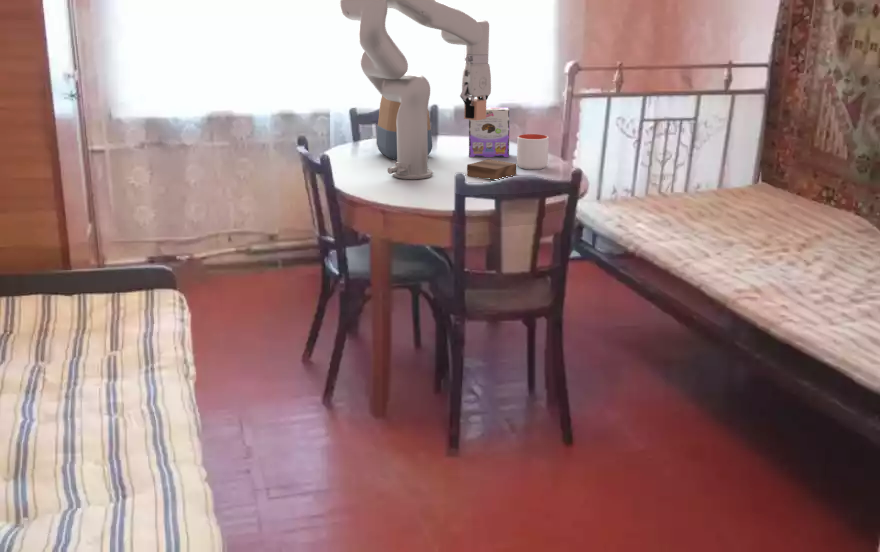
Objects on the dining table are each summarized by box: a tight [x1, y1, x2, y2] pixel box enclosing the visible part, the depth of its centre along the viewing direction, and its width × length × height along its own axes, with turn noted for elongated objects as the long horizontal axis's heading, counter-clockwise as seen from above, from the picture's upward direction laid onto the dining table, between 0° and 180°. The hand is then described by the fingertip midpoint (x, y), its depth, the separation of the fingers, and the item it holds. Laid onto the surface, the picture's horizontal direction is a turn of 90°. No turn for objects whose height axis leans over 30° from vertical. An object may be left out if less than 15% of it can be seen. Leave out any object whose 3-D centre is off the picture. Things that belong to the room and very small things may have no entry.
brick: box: [463, 98, 487, 121], centre depth 307 cm, size 5×5×6 cm
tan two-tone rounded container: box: [376, 95, 433, 161], centre depth 323 cm, size 17×17×23 cm
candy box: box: [468, 106, 511, 158], centre depth 323 cm, size 14×6×16 cm, turn 84°
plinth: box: [466, 158, 517, 180], centre depth 296 cm, size 11×11×4 cm
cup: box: [516, 133, 550, 171], centre depth 307 cm, size 10×10×10 cm
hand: (475, 116), depth 307 cm, fingers closed on brick, 5 cm apart
